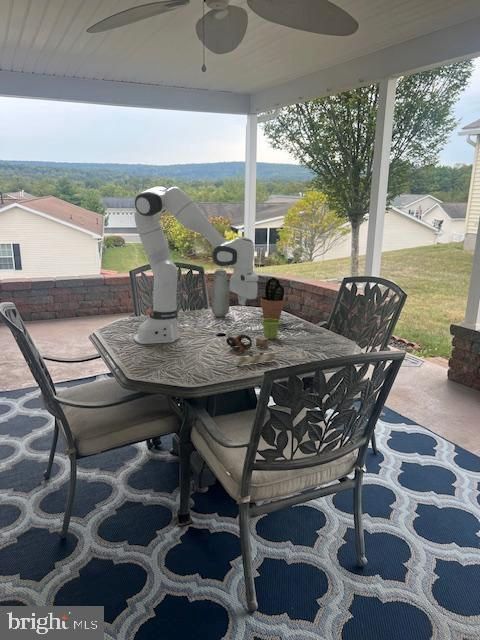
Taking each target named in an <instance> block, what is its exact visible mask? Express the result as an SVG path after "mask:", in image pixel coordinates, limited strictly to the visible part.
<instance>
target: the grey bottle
mask: <svg viewBox="0 0 480 640" xmlns="http://www.w3.org/2000/svg"><path fill="white" fill-rule="evenodd" d="M229 286H230V284H229V282H228V272H227V270H225V269H221V268H220V269H216V270H215V271H214V273H213V282H212V286H211V291H210V293H211V312H212V314H213V316H215V317H218V318H223V317H226V316H227V315H228V313H229V310H230V292H231V291H230V289H229Z"/></svg>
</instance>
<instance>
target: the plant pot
mask: <svg viewBox="0 0 480 640" xmlns="http://www.w3.org/2000/svg"><path fill="white" fill-rule="evenodd" d="M261 323H262V325H263V334H264V335H263V337H265V338H268V340H270V339H271V340H272V339H274V338H275V339H277V337H278V331H279V326H280V323H281V320H277V319H264V318H263V319H262V320H261Z"/></svg>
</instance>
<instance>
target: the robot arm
mask: <svg viewBox="0 0 480 640" xmlns="http://www.w3.org/2000/svg"><path fill="white" fill-rule="evenodd" d="M134 207H135V209H136V210H135V212H134V223H135V227H136V230H137V233H138V235H139V239H140V242H141V244H142V247H143V250H144V252H145V255H146V258H147V261H148V264H149V267H150V270H151V272H152V274H153V292H152V295H153V297H152V298H153V299H152V301H153V308H152V310H150V309H147V310H146V313H147V314H148V315H149V317H148V318H147V319H146V320H145V321H143V322H142V323H141V324H140V325H139V326H138V331H137V333H136V334H134V335H133V340H134V342H136V343H138V344H140V345H149V344H150V345H151V344H167V343H169V344H170V343H173V342H175V341H177V340H179V339H180V338H181V336H180V331H179V327H178V318H179V317H178V314H179V313H178V309H177V290H178V274H179V273H178V267H177V265H176V264H175V263H174V261H173V258H172V254H171V252H170V248H169V244H168V241H167V239H166V236H165V233H164V231H163V227H162V224H161V222H160V214H162V213H164V212H166V211H168V212H169V213H170V214H171V215H172V216H173V217H174V218H175V220H176V221H177V222H178V223H179V224H180V225H181V226H182V227H184V228H185V229H186V230H188V231H194V232H196V233H198V234H200V235H201V236H203V237H204V238H205V239H206V240H207V242H209V243H210V244H211V245H212V246H213V248H214V249H213V251H212V253H211V257H212V260H213V262H214V263H215V264H216V265H217V266H220V267H227V266H228V267H229V266H232V267H233V270H232V271H233V273H231V276H230V279H229V290H230V292H232V293H234V294H237V299H238V305H241V306H243V307H244V306H246V302H247V299H248V300H254V299H255V300H256V298H257V296H258V289H259V287H258V281H259V275H257V274H256V273H255V271H254V259H255V246H254V242H253V240H252V239H250V238H247V237H243V236H238V237H237V236H236V237H235V238H234V239H232V240H228V239H227V238H225V237H224V236H223V234H221V232H220V231H219V230H217V228H216V227H215V226H214V225H213V224H212V223H211V222H210V221H209V219H208V218H207V217H206V215H205V214H204V212H203V211H202V209H201V208H200V206H198V204H197V203H196V202H195V201H194V200H193V198H192V197H191V196H190V195H189V194H187V193H186V191H184V190H183V189H182V188H180V187H179V186H173V187H169V186H167V185H158V186H154V187H151V188H149V189H146V190H145V191H141V192H140V193H139V194H138V195H136V197H135V199H134Z"/></svg>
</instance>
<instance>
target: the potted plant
mask: <svg viewBox="0 0 480 640" xmlns="http://www.w3.org/2000/svg"><path fill="white" fill-rule="evenodd" d="M264 291H265V293H264V296H262V297H260V308H261V310H262V317H263V319H277V320H280V319H281V314H282V312H283V308H284V307H285V306H284V305H285V298H284V295H285V288H284V287H283V285H282V284H280V280H278V279H277V278H276V277H271V278H269V279H268V280H267V282H266V284H265V290H264ZM280 321H281V320H280Z"/></svg>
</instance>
